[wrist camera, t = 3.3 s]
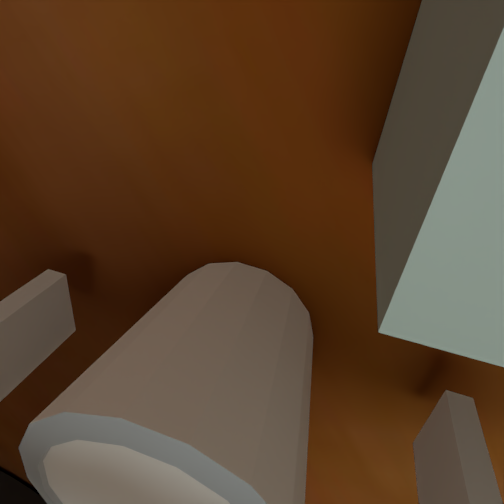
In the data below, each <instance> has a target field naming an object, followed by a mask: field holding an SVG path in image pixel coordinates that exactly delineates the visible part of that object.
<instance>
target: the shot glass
mask: <svg viewBox="0 0 504 504" xmlns="http://www.w3.org/2000/svg"><path fill="white" fill-rule="evenodd" d="M312 354H313V332H312V326H311V321H310V315H309V312H308V310H307V309H306V308H305V306H304V305H303V303H302V302H301V300H300V299H299V297H298V296H297V294H296V293H295V292H294V290H293V289H292V288H291V287H289V286H288V285H286V284H285V283H284V282H282V281H281V280H279V279H278V278H277V277H275V276H274V275H272V274H271V273H269V272H268V271H266V270H263V269H259V268H256V267H253V266H249V265H246V264H243V263H239V262H225V263H209V264H207V265H205V266H203V267H201V268H199V269H197V270H195V271H193V272H191V273H190V274H188V275H186V276H185V277H184V278H183V279H182V280H181V281H180V282H179V283H178V284H177V285H176V286H175V287H174V288H173V289H172V290H170V291H169V292H168V293H167V294H166V295H165V296H164V297H163V298H162V299H161V300H160V301H159V302H158V303H157V304H156V305H155V306H154V307H152V308H151V309H150V310H149V311H148V312H147V313H146V314H145V315H144V316H143V317H142V318H141V319H140V320H139V321H138V322H137V323H136V324H134V325H133V326H132V327H131V328H130V329H129V330H128V331H127V332H126V333H125V334H124V335H123V336H122V337H121V338H120V339H119V340H118V341H116V342H115V343H114V344H113V345H112V346H111V347H110V348H109V349H108V350H107V351H106V352H105V353H104V354H103V355H102V356H101V357H100V358H98V359H97V360H96V361H95V362H94V363H93V364H92V365H91V366H90V367H89V368H88V369H87V370H86V371H85V372H84V373H83V374H82V375H80V376H79V377H78V378H77V379H76V380H75V381H74V382H73V383H72V384H71V385H70V386H69V387H68V388H67V389H66V390H65V391H64V392H62V393H61V394H60V395H59V396H58V397H57V398H56V399H55V400H54V401H53V402H52V403H51V404H50V405H49V406H48V407H47V408H46V409H44V410H43V411H42V412H41V413H40V414H39V415H38V416H37V417H36V418H35V419H34V420H33V421H32V422H31V423H30V424H29V426H28V428H27V430H26V432H25V435H24V437H23V439H22V441H21V443H20V446H19V451H20V454H21V458H22V461H23V464H24V468H25V471H26V474H27V478H28V479H29V480H30V482H31V483H32V484H33V486H34V487H35V488H36V490H37V491H38V492H39V494H40V495H41V496H42V498H43V499H44V500H45V501H46V503H47V504H305V488H306V469H307V450H308V431H309V412H310V392H311V373H312Z"/></svg>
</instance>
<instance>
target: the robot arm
mask: <svg viewBox="0 0 504 504" xmlns="http://www.w3.org/2000/svg"><path fill="white" fill-rule="evenodd" d="M75 331H76V328H75V323H74V317H73V311H72V305H71V300H70V294H69V288H68V283H67V277H66V274H63V273H60V272H56V271H53V270H50V269H47V270H46V271H44V272H43V273H41V274H40V275H38V276H37V277H36V278H34V279H33V280H31V281H30V282H28V283H27V284H25V285H24V286H22V287H21V288H19V289H18V290H16V291H15V292H13V293H12V294H10V295H9V296H7V297H6V298H4V299H3V300H2V301H0V402H1V401H2V400H3V399H4V398H5V397H6V396H7V395H8V394H9V393H10V392H11V391H12V390H13V389H14V388H15V387H16V386H17V385H19V384H20V383H21V382H22V381H23V380H24V379H25V378H26V377H27V376H28V375H29V374H30V373H31V372H32V371H33V370H34V369H35V368H36V367H38V366H39V365H40V364H41V363H42V362H43V361H44V360H45V359H46V358H47V357H48V356H49V355H50V354H51V353H52V352H53V351H54V350H56V349H57V348H58V347H59V346H60V345H61V344H62V343H63V342H64V341H65V340H66V339H67V338H68V337H69V336H70V335H71V334H72V333H74V332H75ZM413 450H414V460H415V470H416V480H417V491H418V501H419V504H503V502H502V499H501V495H500V492H499V488H498V485H497V481H496V478H495V474H494V470H493V467H492V463H491V460H490V456H489V453H488V449H487V446H486V442H485V439H484V435H483V431H482V428H481V424H480V421H479V417H478V414H477V410H476V407H475V403H474V399H473V398H471V397H468V396H465V395H461V394H458V393H455V392H451V391H448V390H445V392H444V393H443V395H442V397H441V398H440V400H439V401H438V403H437V405H436V406H435V408H434V410H433V411H432V413H431V414H430V416H429V418H428V419H427V421H426V422H425V424H424V426H423V427H422V429H421V431H420V432H419V434H418V435H417V437H416V439H415V440H414V442H413ZM0 504H47V503H46V501H45V500H44V499H43V498H42V497H41V496H39V495H38V494H37V493H35V492H34V491H32V490H31V489H30V488H28V487H27V486H25V485H24V484H22V483H20V482H19V481H17V480H16V479H14V478H12V477H11V476H9V475H7V474H5V473H3V472H1V471H0Z"/></svg>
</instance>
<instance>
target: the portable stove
mask: <svg viewBox="0 0 504 504" xmlns="http://www.w3.org/2000/svg"><path fill="white" fill-rule="evenodd" d="M372 172H373V201H374V230H375V259H376V287H377V316H378V332H379V333H382V334H386V335H390V336H393V337H397V338H400V339H404V340H408V341H411V342H415V343H418V344H422V345H426V346H429V347H433V348H436V349H440V350H444V351H447V352H451V353H454V354H458V355H462V356H465V357H469V358H472V359H476V360H480V361H483V362H487V363H490V364H494V365H498V366H501V367H504V0H422V2H421V5H420V8H419V12H418V15H417V18H416V22H415V25H414V28H413V31H412V35H411V38H410V41H409V45H408V48H407V51H406V55H405V58H404V61H403V64H402V68H401V71H400V74H399V78H398V81H397V84H396V88H395V91H394V94H393V97H392V101H391V104H390V107H389V111H388V114H387V117H386V121H385V124H384V127H383V130H382V134H381V137H380V140H379V144H378V147H377V150H376V154H375V157H374V160H373V163H372Z"/></svg>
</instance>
